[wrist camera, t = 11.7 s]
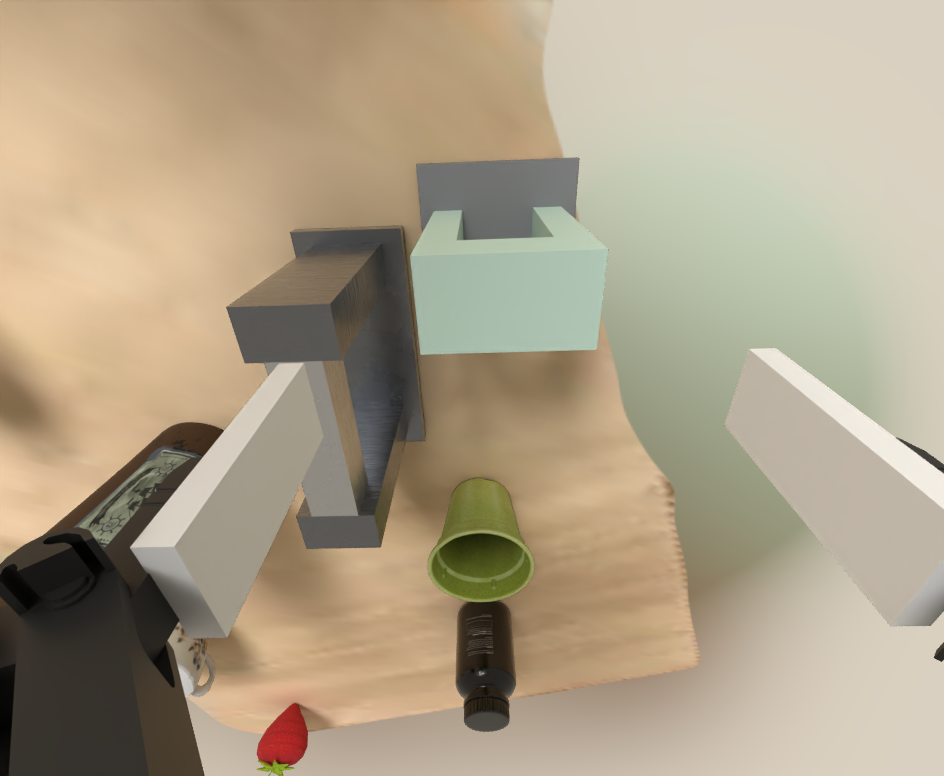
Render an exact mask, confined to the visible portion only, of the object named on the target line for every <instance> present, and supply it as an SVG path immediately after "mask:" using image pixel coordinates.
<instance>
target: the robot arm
mask: <svg viewBox="0 0 944 776" xmlns="http://www.w3.org/2000/svg"><path fill="white" fill-rule="evenodd" d="M725 427H726V428H727V429H728V430H729V432H730V433H731V434H732V435H733V436H734V438H735V439H736V440H737V441H738V443H739V444H740V445H741V446H742V447H743V448H744V450H745V451H746V452H747V453H748V455H749V456H750V457H751V458H752V459H753V461H754V462H755V463H756V464H757V465H758V467H759V468H760V469H761V470H762V471H763V473H764V474H765V475H766V476H767V478H768V479H769V480H770V481H771V482H772V484H773V485H774V486H775V487H776V488H777V490H778V491H779V492H780V493H781V494H782V496H783V497H784V498H785V499H786V501H787V502H788V503H789V504H790V505H791V506H792V508H793V509H794V510H795V511H796V513H797V514H798V515H799V516H800V517H801V519H802V520H803V521H804V522H805V523H806V525H807V526H808V527H809V528H810V529H811V531H812V532H813V533H814V534H815V536H816V537H817V538H818V539H819V540H820V542H821V543H822V544H823V545H824V546H825V548H826V549H827V550H828V551H829V552H830V554H831V555H832V556H833V557H834V558H835V560H836V561H837V562H838V563H839V565H840V566H841V567H842V568H843V569H844V571H845V572H846V573H847V574H848V575H849V577H850V578H851V579H852V580H853V581H854V583H855V584H856V585H857V586H858V587H859V589H860V590H861V591H862V592H863V594H864V595H865V596H866V597H867V598H868V600H869V601H870V602H871V603H872V604H873V606H874V607H875V608H876V609H877V610H878V612H879V613H880V614H881V615H882V616H883V618H884V619H885V620H886V621H887V623H888V624H889V625H890V626H931V625H932V624H933V623H934V621H935V620H936V619H937V618H938V617H939V616H940V615H941V613H942V612H943V611H944V464H942V463H941V462H940V461H938V460H937V459H935V458H934V457H933V456H931V455H930V454H928V453H927V452H926V451H924V450H922V449H920V448H918V447H916V446H913V445H912V444H909V443H908V442H906V441H903V440H901V439H899V438H896V437H894V436H892V435H891V434H890V433H888V432H887V431H886V430H884V429H883V428H882V427H880V426H879V425H878V424H876V423H875V422H874V421H872V420H871V419H870V418H868V417H867V416H866V415H864V414H863V413H862V412H860V411H859V410H858V409H856V408H855V407H854V406H852V405H851V404H849V403H848V402H847V401H846V400H844V399H843V398H841V397H840V396H839V395H838V394H836V393H835V392H833V391H832V390H831V389H829V388H828V387H827V386H826V385H824V384H823V383H821V382H820V381H819V380H817V379H816V378H815V377H813V376H812V375H811V374H809V373H808V372H807V371H805V370H804V369H803V368H801V367H800V366H799V365H797V364H796V363H795V362H793V361H792V360H791V359H789V358H788V357H787V356H785V355H784V354H783V353H781V352H780V351H778V350H777V349H776V348H769V349H749V351H748V354H747V357H746V360H745V364H744V367H743V370H742V373H741V376H740V379H739V382H738V385H737V389H736V391H735V394H734V398H733V401H732V404H731V407H730V410H729V413H728V416H727V419H726V422H725ZM323 437H324V436H323V433H322V429H321V425H320V421H319V418H318V414H317V410H316V406H315V403H314V399H313V395H312V391H311V387H310V384H309V380H308V376H307V372H306V369H305V365H304V363H284V364H278V365H277V366H276V368H275V369H274V370H273V371H272V372H271V374H270V375H269V376H268V377H267V379H266V380H265V381H264V382H263V384H262V385H261V386H260V387H259V389H258V390H257V391H256V392H255V393H254V395H253V396H252V397H251V398H250V400H249V401H248V402H247V403H246V405H245V406H244V407H243V408H242V410H241V411H240V412H239V413H238V415H237V416H236V417H235V418H234V419H233V421H232V422H231V423H230V424H229V426H228V427H227V428H226V429H225V431H224V432H223V433H222V434H221V436H220V437H219V438H218V439H217V440H216V442H215V443H214V444H213V445H212V447H211V448H210V449H209V450H208V452H207V453H206V454H205V455H204V457H191V458H190V459H188V460H187V461H186V462H184V463H183V464H181V465H180V466H179V467H177V468H176V469H174V470H173V471H171V472H170V473H169V474H168V476H167V477H166V478H165V479H164V480H163V481H162V483H161V484H160V485H159V486H158V487H157V488H156V492H153V493H152V494H151V495H150V496H149V497H148V499H147V500H146V501H145V502H144V506H143V507H140V508H139V509H138V510H137V511H136V512H135V514H134V515H133V516H132V517H131V518H130V519H129V521H128V522H127V523H126V524H125V525H124V526H123V527H122V529H121V530H120V531H119V532H118V533H117V534H116V536H115V537H114V538H113V539H112V540H111V541H110V542H109V544H108V545H107V546H106V547H105V548H104V549H102V547H101V546H100V544H99V543H98V542H97V540H96V539H95V537H94V536H93V535H92V533H91V532H90V530H87V529H83V528H80V527H75V528H66V529H61V530H58V531H54V532H51V533H48V534H45V535H43V536H41V537H39V538H37V539H35V540H33V541H31V542H29V543H27V544H25V545H23V546H22V547H21V548H19V549H18V550H17V551H15V552H14V553H12V554H11V555H10V556H8V557H7V558H6V559H5V560H4V561H3V562H2V563H1V564H0V597H1V598H2V599H3V600H4V601H5V602H6V603H7V604H8V605H6V606H3V607H0V776H204V771H203V767H202V763H201V759H200V756H199V751H198V747H197V743H196V739H195V735H194V731H193V727H192V723H191V719H190V714H189V711H188V707H187V702H186V698H185V694H184V690H183V686H182V682H181V678H180V674H179V670H178V666H177V662H176V657H175V653H174V649H173V648H172V646H171V645H170V643H169V642H168V639H169V638H170V636H171V634H172V632H173V631H174V629H175V627H176V626H177V624H178V622H179V623H180V624H181V626H182V628H183V629H184V631H185V632H186V634H187V635H188V637H189V638H190V639H195V638H227V637H228V635H229V633H230V631H231V629H232V627H233V625H234V623H235V621H236V618H237V616H238V614H239V612H240V610H241V608H242V606H243V604H244V602H245V600H246V598H247V595H248V593H249V591H250V589H251V587H252V585H253V583H254V581H255V579H256V577H257V575H258V572H259V570H260V568H261V566H262V564H263V562H264V560H265V558H266V556H267V554H268V552H269V549H270V547H271V545H272V543H273V541H274V539H275V537H276V535H277V533H278V531H279V529H280V526H281V524H282V522H283V520H284V518H285V516H286V514H287V512H288V510H289V508H290V506H291V503H292V501H293V499H294V497H295V495H296V493H297V491H298V489H299V487H300V485H301V483H302V480H303V478H304V476H305V474H306V472H307V470H308V468H309V466H310V464H311V462H312V460H313V457H314V455H315V453H316V451H317V449H318V447H319V445H320V443H321V441H322V439H323ZM934 658H935V659H937V660H939V661H941V662H942V661H943V660H944V643H943V644H942V645H941V646H940V647H939V648H938V649H937V650H936V653H935V656H934Z"/></svg>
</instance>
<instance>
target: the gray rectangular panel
mask: <svg viewBox="0 0 944 776" xmlns="http://www.w3.org/2000/svg"><path fill="white" fill-rule="evenodd" d="M416 167H417V178H418V190H419V201H420V212H421V223H422V233H423V231H424V229H425V227H426V225H427V223H428V222H429V220H430V218H431V216H432V214H433V212H434V211H451V210H462V218H463V240H481V239H509V238H532V214H533V207H559V206H561V207H562V208H563V209H565V210H566V211H567V212H568V213H569V214H570V215H571V216H572V217H573V218H575V209H576V196H577V183H578V182H577V181H578V170H579V158H554V159H530V160H505V161H480V162H455V163H430V164H416Z"/></svg>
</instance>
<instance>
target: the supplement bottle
mask: <svg viewBox="0 0 944 776" xmlns="http://www.w3.org/2000/svg"><path fill="white" fill-rule="evenodd" d="M515 686H516V673H515V661H514V648H513V636H512V624H511V615H510V612H509V610H508V608H507V607H506V606H505V605H504V604H502V603H500V602H498V601H490V602H471V601H470V602H468V603H467V604H465V605H464V606H463V607H462V608H461V609H460V611H459V613H458V619H457V649H456V687H457V690H458V692H459V694H460V695H461V696H462V697H463V698H464V699H465V700H464V722H465V725H467V727H469V728H471V729H472V730H476V731H483V732H490V731H497V730H500V729H503V728H504V727H506V726H507V725H508V723H509V700H508V698H509V697H510V696H511V695H512V693H513V691H514V689H515Z"/></svg>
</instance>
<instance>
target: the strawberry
mask: <svg viewBox="0 0 944 776" xmlns="http://www.w3.org/2000/svg"><path fill="white" fill-rule="evenodd" d="M307 741H308V731H307V727H306V724H305V721H304V718H303V716H302V714H301V712H300V708H299V706H298V705H297V704H292V705H290V706H289V707H288V708H287V709H286V710H285V711H284V712H283V713H282V714H281V715H280V716H279V717H278V718H277V719H276V720H275V721H274V722H273V723H272V724H271V725H270V726H269V728H268V729H267V730H266V732H265V733H264V735H263V737H262V738H261V740H260V742H259V744H258V749H257V756H258V759H259V761H258V762H260V763H261V764H262V765H263V766H264V768H259V769H257V770H261V771H267V772H268V771H270V770H271V772H272V773H275V774H277V775H279V776H283V772H282V770H290V769H294V768H293V767H287V766H290V765H293V764H295V763H297V762H298V761H299V760H300V759H301V758H302V757H303V755H304V753H305V751H306V748H307ZM270 774H271V773H270ZM270 774H269V775H270Z"/></svg>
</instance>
